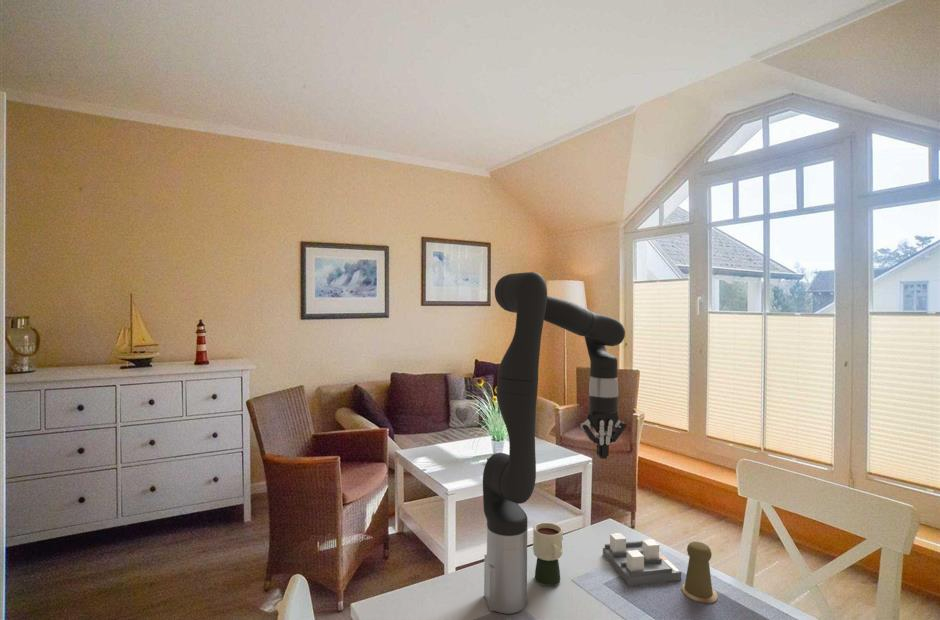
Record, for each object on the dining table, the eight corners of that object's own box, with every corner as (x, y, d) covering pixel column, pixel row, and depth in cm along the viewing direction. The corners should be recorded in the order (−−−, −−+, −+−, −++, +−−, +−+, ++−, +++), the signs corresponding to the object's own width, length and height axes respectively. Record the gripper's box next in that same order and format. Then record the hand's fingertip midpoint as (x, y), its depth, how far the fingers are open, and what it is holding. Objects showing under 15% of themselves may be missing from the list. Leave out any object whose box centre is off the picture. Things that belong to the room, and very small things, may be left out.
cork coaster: (695, 604, 107) (695, 602, 107) (675, 585, 114) (675, 583, 114) (725, 601, 108) (725, 599, 108) (703, 582, 116) (703, 580, 116)
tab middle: (648, 561, 121) (648, 545, 121) (642, 555, 124) (642, 540, 124) (659, 560, 122) (659, 544, 121) (652, 554, 124) (652, 539, 124)
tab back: (615, 554, 124) (615, 539, 124) (609, 548, 127) (610, 533, 127) (625, 553, 125) (626, 538, 125) (620, 547, 128) (620, 533, 128)
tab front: (632, 573, 115) (632, 557, 115) (626, 566, 118) (626, 550, 118) (643, 572, 116) (644, 556, 116) (637, 565, 119) (637, 549, 119)
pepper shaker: (716, 599, 108) (717, 552, 108) (688, 596, 109) (689, 549, 109) (708, 584, 114) (708, 539, 114) (681, 581, 115) (682, 537, 115)
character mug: (570, 592, 111) (570, 538, 111) (541, 596, 110) (542, 541, 109) (552, 567, 122) (553, 517, 122) (526, 570, 120) (526, 519, 120)
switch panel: (629, 585, 114) (629, 573, 114) (602, 555, 128) (602, 544, 128) (681, 580, 117) (681, 568, 117) (649, 550, 130) (650, 540, 130)
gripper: (619, 390, 131) (618, 452, 131) (574, 391, 129) (573, 454, 129) (633, 395, 124) (632, 461, 124) (586, 396, 121) (585, 463, 121)
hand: (602, 457), depth 126 cm, fingers closed
